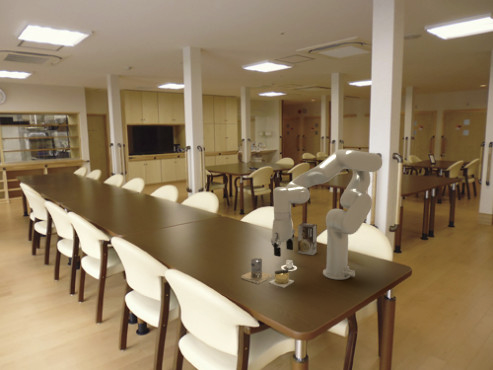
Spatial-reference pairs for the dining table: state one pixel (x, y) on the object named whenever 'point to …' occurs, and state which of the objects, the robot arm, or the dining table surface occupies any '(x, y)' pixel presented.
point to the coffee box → (307, 238)
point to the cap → (281, 276)
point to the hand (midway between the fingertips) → (283, 252)
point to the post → (256, 272)
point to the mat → (281, 284)
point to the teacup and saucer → (289, 265)
